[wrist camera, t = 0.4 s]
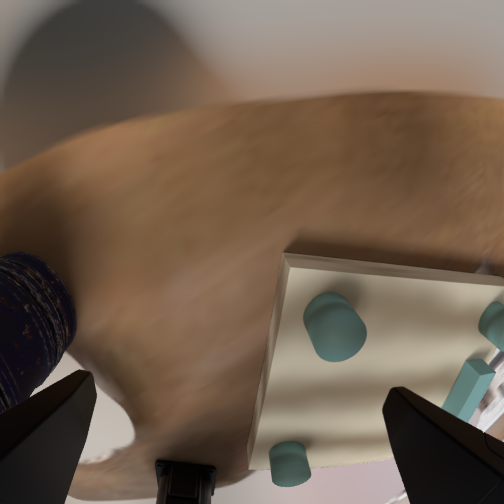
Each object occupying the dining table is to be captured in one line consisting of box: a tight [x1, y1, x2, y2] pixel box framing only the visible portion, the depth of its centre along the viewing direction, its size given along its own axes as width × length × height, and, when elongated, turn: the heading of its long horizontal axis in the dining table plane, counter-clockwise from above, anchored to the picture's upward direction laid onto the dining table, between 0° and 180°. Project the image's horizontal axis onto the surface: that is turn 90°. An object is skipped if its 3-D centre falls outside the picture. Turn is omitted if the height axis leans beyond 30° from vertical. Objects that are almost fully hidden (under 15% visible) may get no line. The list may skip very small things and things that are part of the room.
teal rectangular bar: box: [442, 359, 496, 423], centre depth 23 cm, size 11×2×3 cm, turn 173°
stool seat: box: [247, 252, 504, 487], centre depth 23 cm, size 20×22×6 cm
